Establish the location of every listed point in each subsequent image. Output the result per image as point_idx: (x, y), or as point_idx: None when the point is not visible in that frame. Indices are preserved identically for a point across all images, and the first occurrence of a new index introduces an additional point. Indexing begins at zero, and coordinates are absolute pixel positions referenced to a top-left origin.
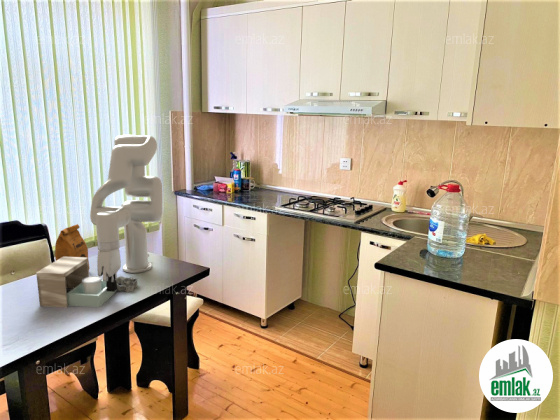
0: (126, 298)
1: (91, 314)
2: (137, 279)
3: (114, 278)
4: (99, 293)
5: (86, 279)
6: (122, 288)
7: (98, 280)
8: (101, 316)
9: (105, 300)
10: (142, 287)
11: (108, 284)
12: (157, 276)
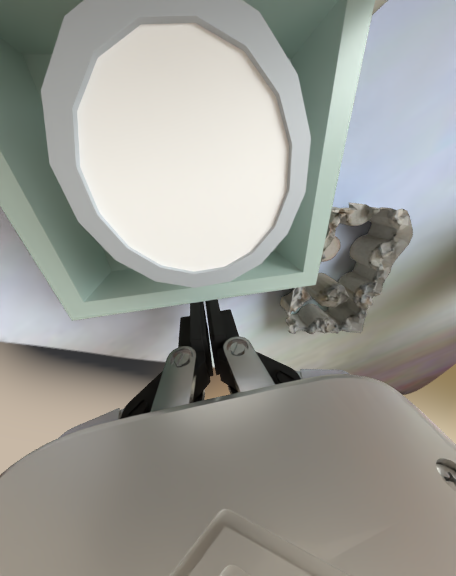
0: None
1: (20, 290)
2: (350, 329)
3: (228, 385)
4: (104, 306)
5: (167, 77)
6: None
7: (184, 278)
8: (37, 335)
9: None
10: None
11: (180, 346)
12: (403, 324)
